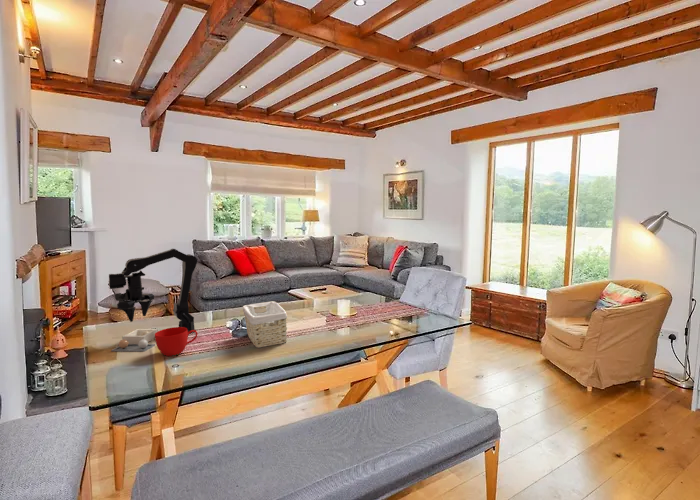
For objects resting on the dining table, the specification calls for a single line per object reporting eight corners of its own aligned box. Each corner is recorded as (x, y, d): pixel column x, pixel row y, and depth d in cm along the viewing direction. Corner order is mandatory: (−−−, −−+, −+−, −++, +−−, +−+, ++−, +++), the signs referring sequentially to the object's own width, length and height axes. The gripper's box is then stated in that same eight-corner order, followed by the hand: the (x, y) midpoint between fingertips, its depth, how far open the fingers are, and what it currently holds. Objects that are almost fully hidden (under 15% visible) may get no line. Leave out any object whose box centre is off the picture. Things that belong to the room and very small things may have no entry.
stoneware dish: (158, 337, 202) (157, 329, 201) (144, 344, 191) (143, 336, 190) (138, 336, 203) (137, 329, 203) (122, 344, 193) (122, 336, 192)
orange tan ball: (131, 346, 188) (130, 338, 188) (125, 349, 184) (124, 341, 184) (123, 346, 189) (122, 338, 188) (117, 349, 185) (115, 341, 184)
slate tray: (155, 346, 189) (155, 344, 188) (144, 352, 181) (144, 350, 181) (123, 346, 191) (123, 343, 191) (111, 352, 183) (111, 350, 183)
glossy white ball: (150, 346, 187) (149, 338, 186) (144, 349, 183) (143, 341, 182) (142, 346, 187) (141, 338, 187) (136, 349, 183) (135, 341, 183)
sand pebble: (151, 339, 198) (152, 331, 200) (146, 338, 195) (147, 330, 196) (143, 339, 199) (145, 331, 200) (138, 338, 195) (139, 330, 197)
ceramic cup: (201, 353, 177) (199, 330, 176) (158, 362, 169) (155, 338, 167) (196, 344, 188) (194, 323, 187) (155, 352, 180) (153, 330, 179)
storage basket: (289, 343, 184) (287, 311, 182) (253, 350, 178) (251, 317, 176) (276, 329, 206) (275, 300, 204) (244, 334, 200) (241, 305, 198)
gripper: (132, 282, 202) (135, 313, 204) (104, 290, 184) (108, 324, 185) (153, 282, 200) (156, 313, 202) (127, 290, 182) (130, 324, 184)
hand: (138, 318), depth 193 cm, fingers open, 9 cm apart
